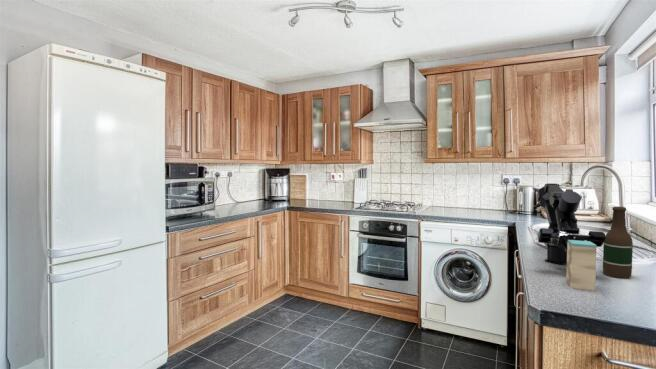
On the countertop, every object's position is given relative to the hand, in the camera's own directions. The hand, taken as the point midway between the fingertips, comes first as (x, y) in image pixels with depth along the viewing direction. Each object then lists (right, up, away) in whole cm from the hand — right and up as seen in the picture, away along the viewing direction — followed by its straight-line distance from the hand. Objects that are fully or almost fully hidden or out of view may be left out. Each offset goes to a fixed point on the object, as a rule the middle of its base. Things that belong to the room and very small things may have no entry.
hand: (574, 258), depth 111 cm
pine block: (-3, -8, -6) cm, 10 cm away
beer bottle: (+18, -7, +4) cm, 20 cm away
